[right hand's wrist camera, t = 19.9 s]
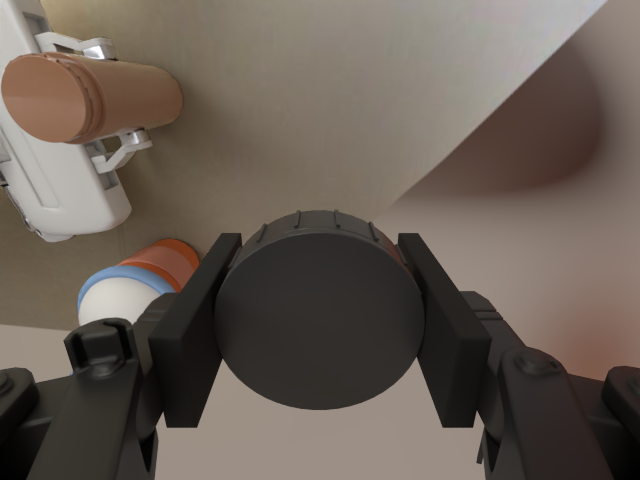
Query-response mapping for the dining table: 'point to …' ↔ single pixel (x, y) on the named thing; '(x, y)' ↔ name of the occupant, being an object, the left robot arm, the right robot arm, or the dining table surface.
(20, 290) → the dining table surface
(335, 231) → the lid
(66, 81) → the jar
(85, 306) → the cup with straw
